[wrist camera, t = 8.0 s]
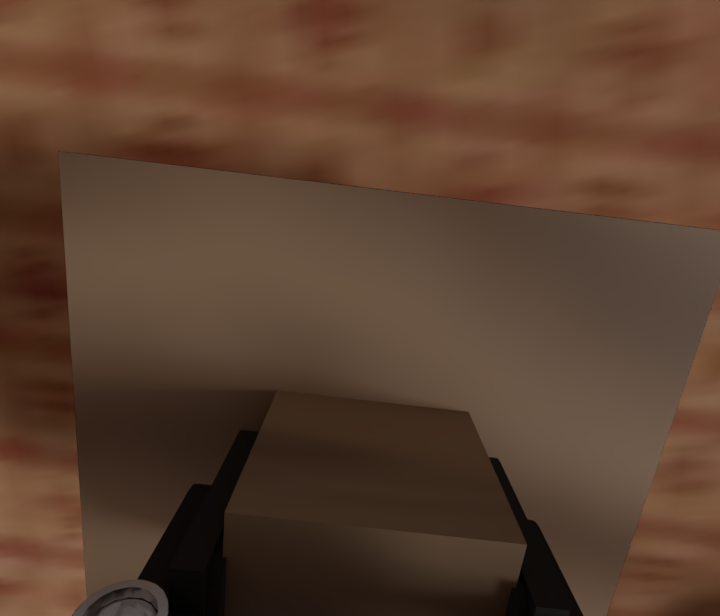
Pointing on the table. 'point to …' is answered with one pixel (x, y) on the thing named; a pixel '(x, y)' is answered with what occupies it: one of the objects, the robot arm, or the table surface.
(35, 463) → the table surface
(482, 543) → the walnut lid
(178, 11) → the table surface
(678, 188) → the table surface
